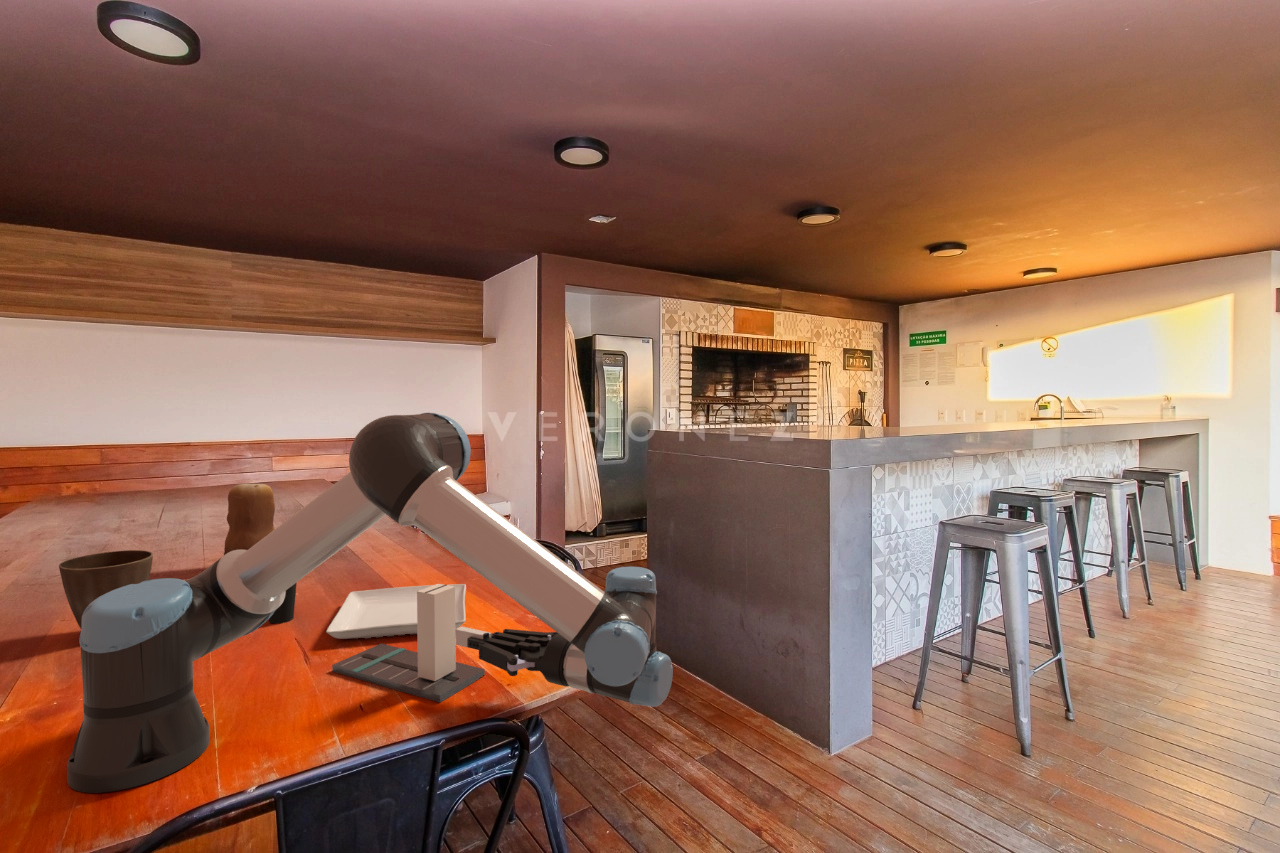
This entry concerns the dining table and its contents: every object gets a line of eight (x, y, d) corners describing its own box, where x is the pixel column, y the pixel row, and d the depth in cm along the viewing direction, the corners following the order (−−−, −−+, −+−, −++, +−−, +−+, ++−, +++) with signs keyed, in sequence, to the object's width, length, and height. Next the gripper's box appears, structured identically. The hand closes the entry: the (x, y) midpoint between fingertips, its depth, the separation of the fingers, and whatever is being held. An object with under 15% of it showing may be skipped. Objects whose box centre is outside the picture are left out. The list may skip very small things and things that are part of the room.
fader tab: (455, 669, 109) (455, 586, 108) (435, 681, 104) (434, 594, 104) (438, 665, 110) (438, 583, 110) (417, 676, 106) (416, 590, 105)
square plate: (324, 649, 122) (324, 630, 122) (350, 605, 148) (350, 589, 148) (465, 636, 129) (465, 618, 129) (466, 596, 155) (466, 581, 155)
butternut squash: (276, 559, 189) (274, 479, 188) (284, 568, 179) (282, 483, 178) (222, 566, 180) (220, 482, 179) (227, 576, 170) (225, 487, 169)
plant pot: (172, 624, 134) (170, 552, 133) (95, 651, 119) (93, 571, 119) (122, 618, 138) (120, 548, 137) (42, 643, 123) (39, 565, 123)
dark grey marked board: (484, 675, 110) (484, 668, 110) (440, 702, 100) (439, 694, 100) (381, 649, 121) (381, 642, 121) (332, 671, 111) (332, 664, 111)
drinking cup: (282, 627, 132) (281, 536, 132) (253, 624, 134) (251, 534, 133) (308, 615, 140) (307, 529, 139) (280, 612, 141) (278, 527, 141)
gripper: (551, 703, 89) (431, 671, 100) (596, 668, 101) (484, 643, 111) (551, 653, 89) (430, 626, 99) (596, 624, 101) (484, 603, 111)
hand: (459, 635), depth 105 cm, fingers closed
